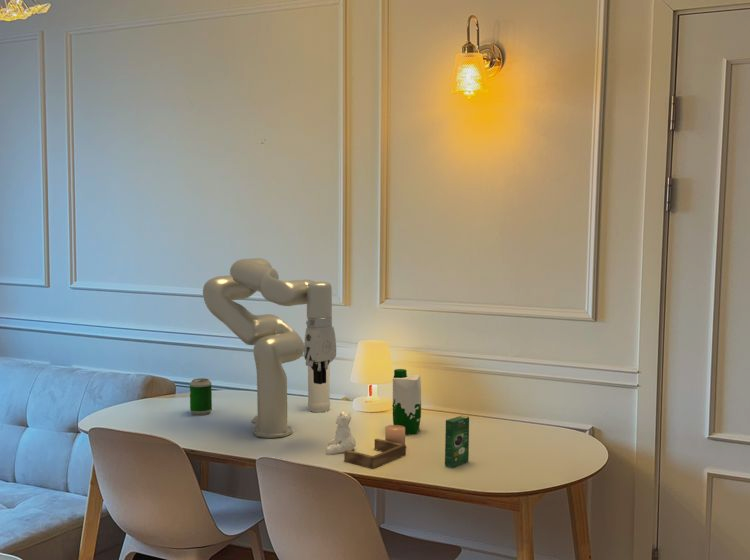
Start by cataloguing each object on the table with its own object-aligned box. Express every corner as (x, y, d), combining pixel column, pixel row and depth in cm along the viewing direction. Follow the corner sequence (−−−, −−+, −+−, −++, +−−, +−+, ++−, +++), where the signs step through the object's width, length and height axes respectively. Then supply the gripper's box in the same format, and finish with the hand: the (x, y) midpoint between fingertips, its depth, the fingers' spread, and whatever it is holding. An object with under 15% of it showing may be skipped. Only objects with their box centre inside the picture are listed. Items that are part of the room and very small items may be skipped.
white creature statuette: (328, 445, 227) (328, 406, 226) (356, 445, 227) (356, 406, 226) (325, 454, 218) (325, 414, 217) (355, 455, 217) (354, 414, 216)
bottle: (304, 408, 271) (304, 326, 269) (325, 406, 274) (324, 325, 272) (312, 413, 264) (311, 329, 262) (333, 411, 267) (332, 328, 265)
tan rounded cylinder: (381, 447, 224) (381, 428, 224) (392, 443, 229) (392, 423, 229) (397, 451, 221) (397, 431, 220) (408, 446, 225) (409, 427, 225)
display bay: (344, 461, 212) (344, 450, 211) (377, 448, 224) (377, 438, 223) (373, 468, 205) (373, 458, 205) (405, 455, 217) (405, 444, 217)
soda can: (216, 412, 266) (215, 379, 265) (201, 417, 259) (200, 383, 258) (201, 409, 270) (200, 377, 269) (185, 414, 263) (185, 380, 263)
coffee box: (461, 459, 213) (461, 414, 212) (469, 461, 211) (470, 416, 210) (444, 466, 207) (444, 419, 206) (452, 468, 205) (452, 421, 204)
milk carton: (395, 426, 247) (395, 367, 245) (422, 428, 245) (422, 368, 244) (390, 434, 238) (390, 372, 237) (418, 435, 237) (418, 373, 235)
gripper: (311, 326, 216) (311, 389, 217) (345, 321, 228) (345, 380, 230) (292, 324, 221) (293, 385, 222) (326, 319, 233) (327, 377, 234)
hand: (319, 382), depth 226 cm, fingers closed
